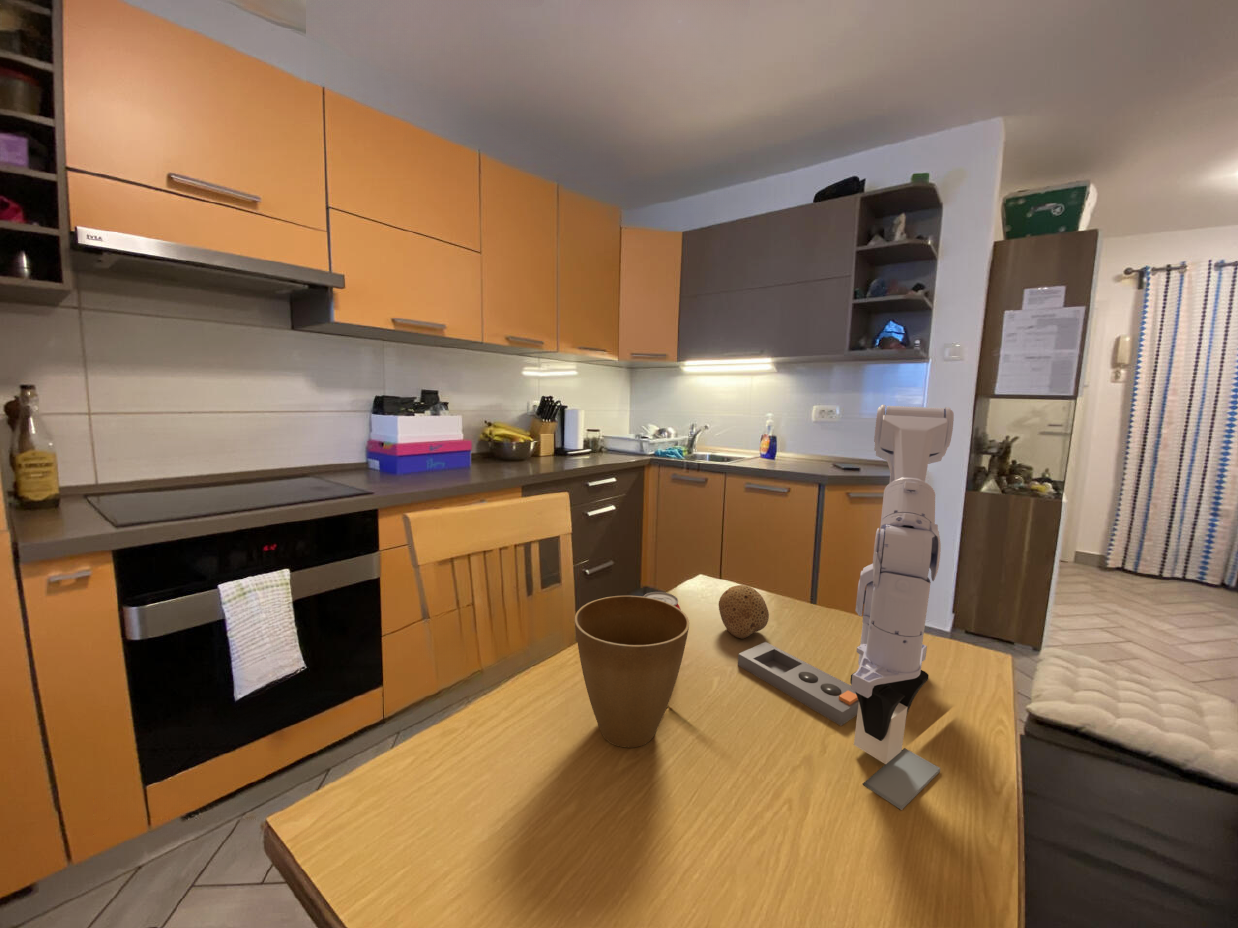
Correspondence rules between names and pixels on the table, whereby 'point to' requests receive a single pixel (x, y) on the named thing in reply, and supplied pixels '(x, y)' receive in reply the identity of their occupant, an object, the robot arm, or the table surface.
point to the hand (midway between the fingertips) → (883, 728)
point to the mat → (902, 778)
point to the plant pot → (630, 663)
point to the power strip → (801, 682)
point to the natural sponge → (743, 611)
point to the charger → (890, 743)
